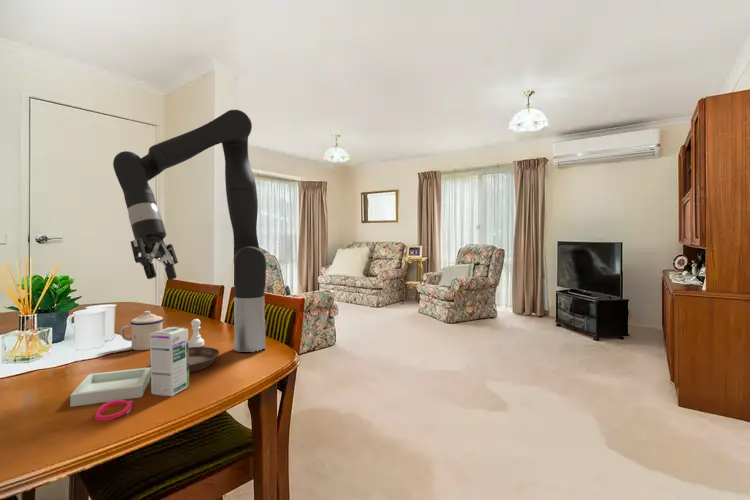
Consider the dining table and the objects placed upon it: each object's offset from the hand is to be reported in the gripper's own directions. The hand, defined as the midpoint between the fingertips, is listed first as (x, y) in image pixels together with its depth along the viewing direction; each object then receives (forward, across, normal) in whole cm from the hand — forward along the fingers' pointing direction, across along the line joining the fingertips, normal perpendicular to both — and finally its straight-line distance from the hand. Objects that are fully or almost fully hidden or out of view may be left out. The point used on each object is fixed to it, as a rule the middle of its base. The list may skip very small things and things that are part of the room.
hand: (162, 278), depth 100 cm
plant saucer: (+24, +8, +6) cm, 26 cm away
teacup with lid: (+14, +22, +27) cm, 37 cm away
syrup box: (+28, -9, 0) cm, 30 cm away
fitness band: (+28, -20, +5) cm, 35 cm away
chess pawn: (+19, +25, +11) cm, 34 cm away
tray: (+24, -10, +12) cm, 29 cm away
